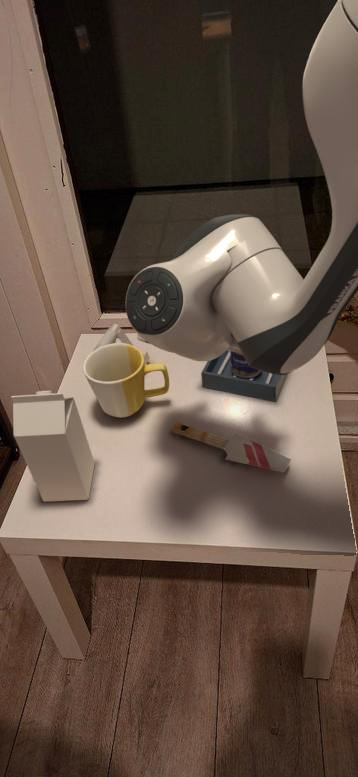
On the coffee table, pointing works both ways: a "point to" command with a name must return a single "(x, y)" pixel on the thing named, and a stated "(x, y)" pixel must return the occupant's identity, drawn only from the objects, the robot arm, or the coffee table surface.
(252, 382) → the drying rack
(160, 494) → the coffee table surface
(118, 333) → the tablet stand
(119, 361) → the mug
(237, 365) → the pill bottle
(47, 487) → the milk carton
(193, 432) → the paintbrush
